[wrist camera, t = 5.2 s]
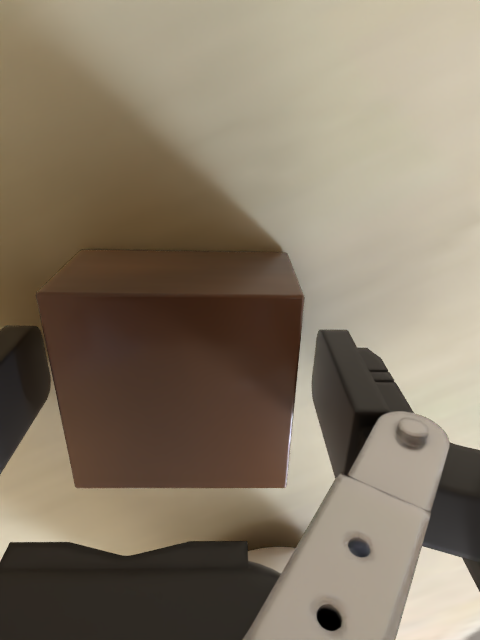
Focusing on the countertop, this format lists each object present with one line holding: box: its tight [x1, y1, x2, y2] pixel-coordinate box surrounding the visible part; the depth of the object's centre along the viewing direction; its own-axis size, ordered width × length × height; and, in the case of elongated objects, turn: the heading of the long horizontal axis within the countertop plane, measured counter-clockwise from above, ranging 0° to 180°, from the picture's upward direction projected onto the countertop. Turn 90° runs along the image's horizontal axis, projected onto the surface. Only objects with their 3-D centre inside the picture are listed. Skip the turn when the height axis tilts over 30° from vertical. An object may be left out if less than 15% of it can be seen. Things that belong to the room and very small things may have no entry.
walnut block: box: [36, 250, 304, 488], centre depth 11 cm, size 6×6×3 cm
